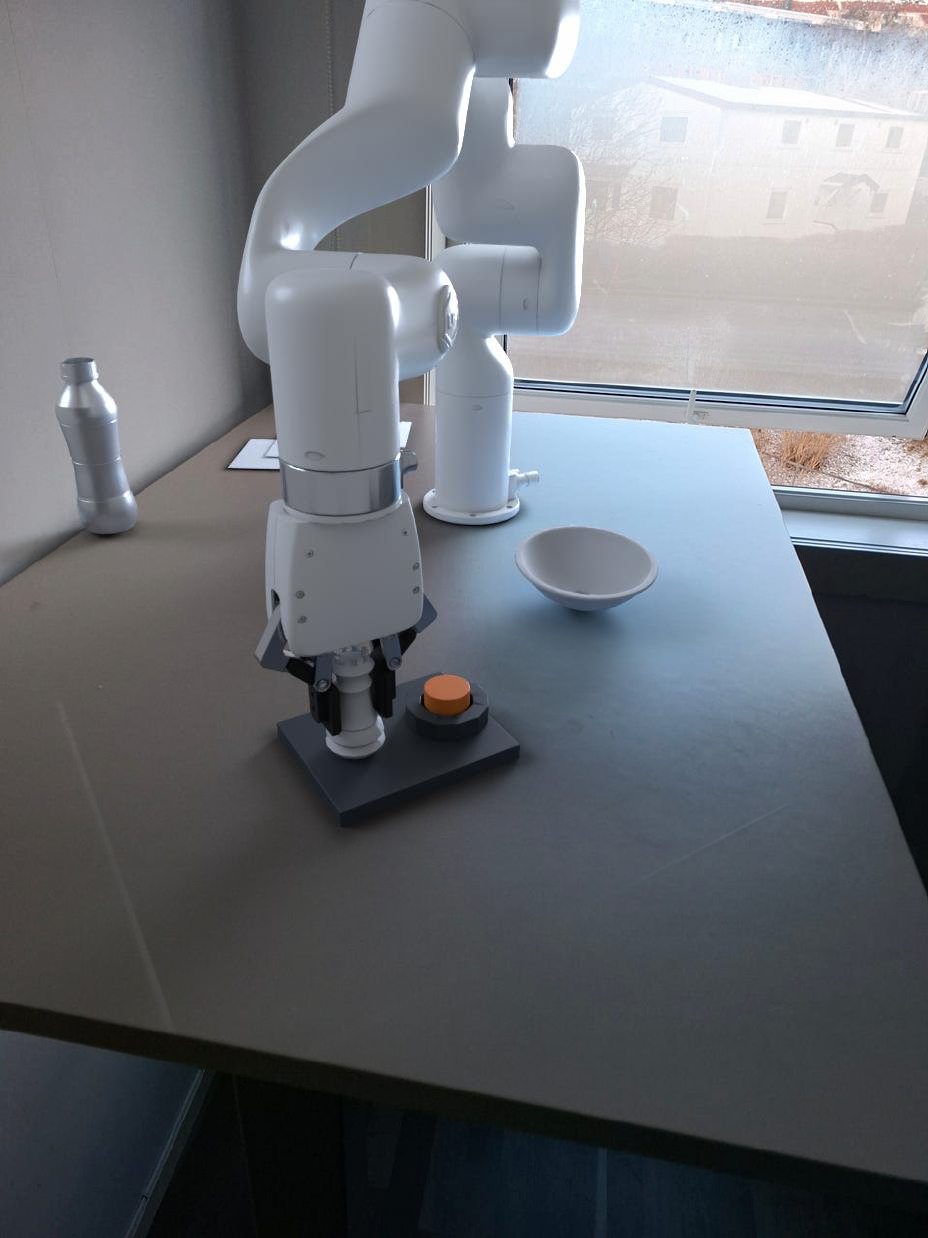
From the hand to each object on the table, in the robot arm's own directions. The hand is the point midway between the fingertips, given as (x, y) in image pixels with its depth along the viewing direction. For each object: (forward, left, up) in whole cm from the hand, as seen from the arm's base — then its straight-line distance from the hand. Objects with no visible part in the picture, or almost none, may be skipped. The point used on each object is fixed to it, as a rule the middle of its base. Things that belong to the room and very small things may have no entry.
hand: (354, 715), depth 62 cm
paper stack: (-29, -73, -4) cm, 79 cm away
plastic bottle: (+7, -55, -4) cm, 55 cm away
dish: (-31, -12, -4) cm, 34 cm away
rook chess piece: (0, 0, -3) cm, 3 cm away
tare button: (-8, 0, -2) cm, 8 cm away
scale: (-3, 0, -4) cm, 6 cm away
